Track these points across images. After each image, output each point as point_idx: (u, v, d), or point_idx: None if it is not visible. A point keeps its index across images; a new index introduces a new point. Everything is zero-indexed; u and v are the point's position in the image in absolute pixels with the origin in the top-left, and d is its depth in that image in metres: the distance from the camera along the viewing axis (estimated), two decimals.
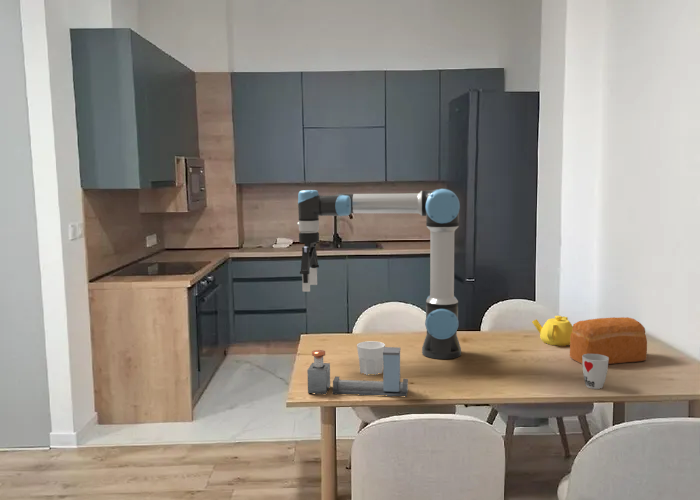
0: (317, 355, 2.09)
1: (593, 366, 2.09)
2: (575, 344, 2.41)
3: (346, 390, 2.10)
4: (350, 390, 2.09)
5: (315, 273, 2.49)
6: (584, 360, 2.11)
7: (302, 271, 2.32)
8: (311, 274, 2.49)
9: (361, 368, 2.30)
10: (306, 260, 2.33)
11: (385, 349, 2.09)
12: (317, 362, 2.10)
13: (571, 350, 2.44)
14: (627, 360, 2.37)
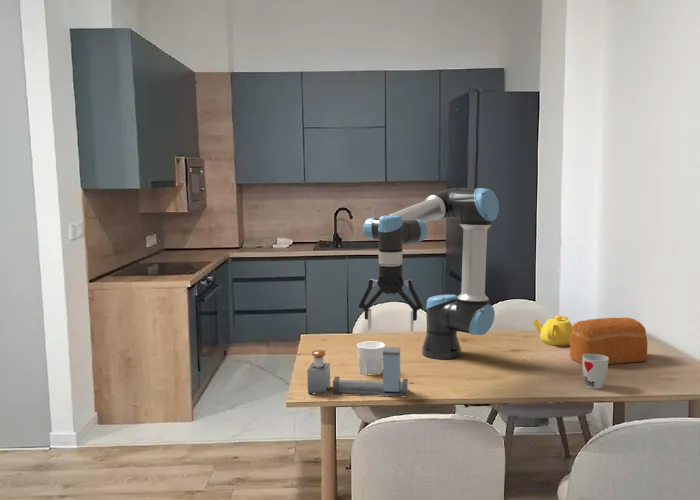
0: (317, 355, 2.09)
1: (593, 366, 2.09)
2: (575, 344, 2.41)
3: (346, 390, 2.10)
4: (350, 390, 2.09)
5: None
6: (584, 360, 2.11)
7: None
8: None
9: (361, 368, 2.30)
10: (364, 294, 2.07)
11: (385, 349, 2.09)
12: (317, 362, 2.10)
13: (571, 350, 2.44)
14: (627, 360, 2.37)
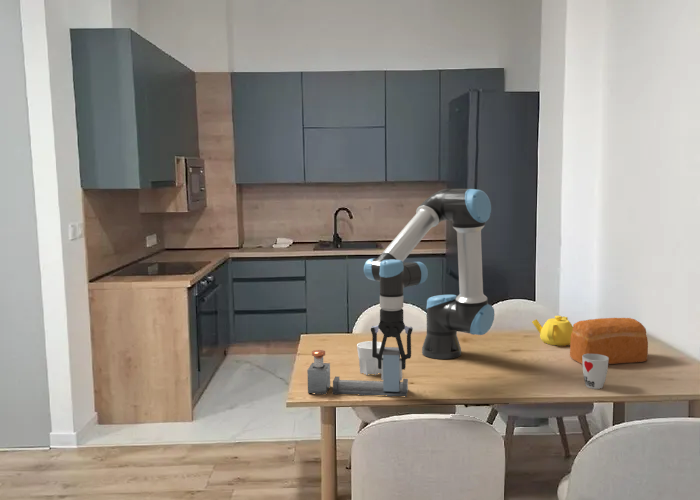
0: (317, 355, 2.09)
1: (593, 366, 2.09)
2: (575, 344, 2.41)
3: (346, 390, 2.10)
4: (350, 390, 2.09)
5: (399, 366, 2.07)
6: (584, 360, 2.11)
7: None
8: None
9: (361, 368, 2.30)
10: None
11: (385, 349, 2.09)
12: (317, 362, 2.10)
13: (571, 350, 2.44)
14: (627, 361, 2.37)
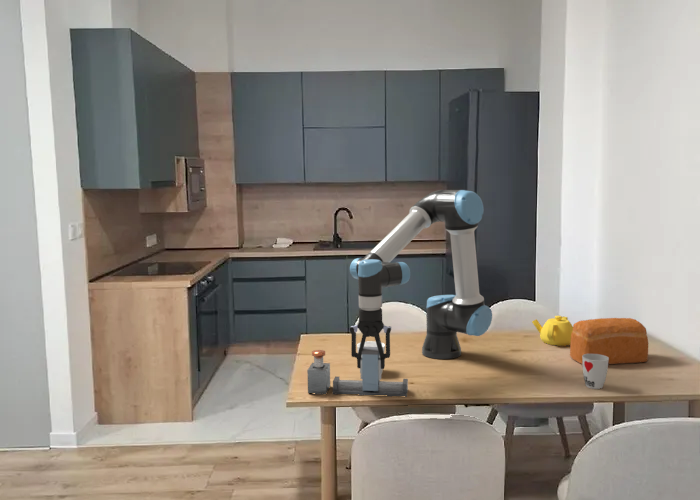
0: (317, 355, 2.09)
1: (593, 366, 2.09)
2: (574, 344, 2.41)
3: (346, 390, 2.10)
4: (350, 390, 2.09)
5: (378, 365, 2.08)
6: (584, 360, 2.11)
7: None
8: None
9: None
10: None
11: (364, 348, 2.10)
12: (317, 362, 2.10)
13: (571, 350, 2.44)
14: (627, 361, 2.37)
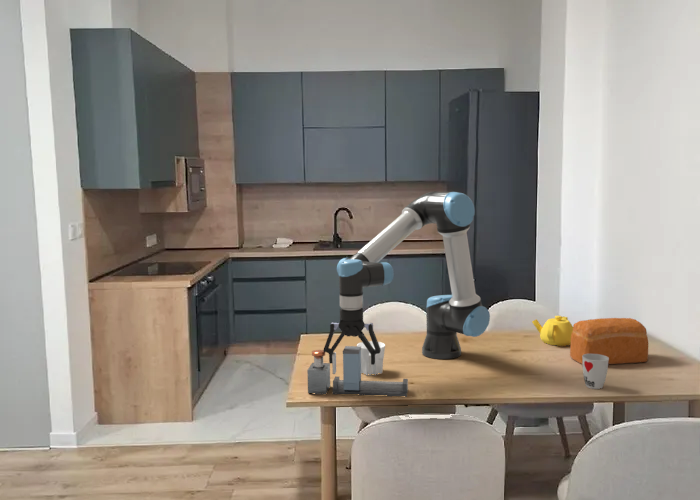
0: (317, 355, 2.09)
1: (593, 366, 2.09)
2: (575, 344, 2.41)
3: (346, 390, 2.10)
4: (350, 390, 2.09)
5: None
6: (584, 360, 2.11)
7: None
8: None
9: (361, 368, 2.30)
10: (327, 338, 2.10)
11: (345, 348, 2.10)
12: (317, 362, 2.10)
13: (571, 350, 2.44)
14: (627, 361, 2.37)
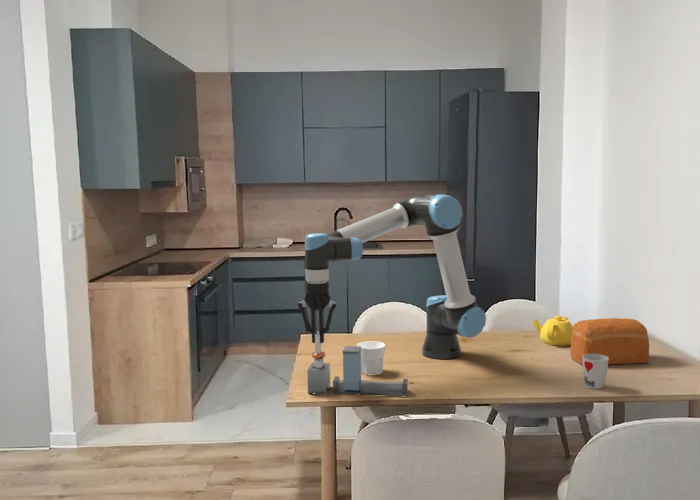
0: (317, 356, 2.09)
1: (593, 366, 2.09)
2: (574, 343, 2.42)
3: (346, 390, 2.10)
4: (350, 390, 2.09)
5: None
6: (584, 360, 2.11)
7: None
8: None
9: (361, 368, 2.30)
10: None
11: (345, 348, 2.10)
12: (317, 364, 2.11)
13: (571, 349, 2.45)
14: (627, 361, 2.36)
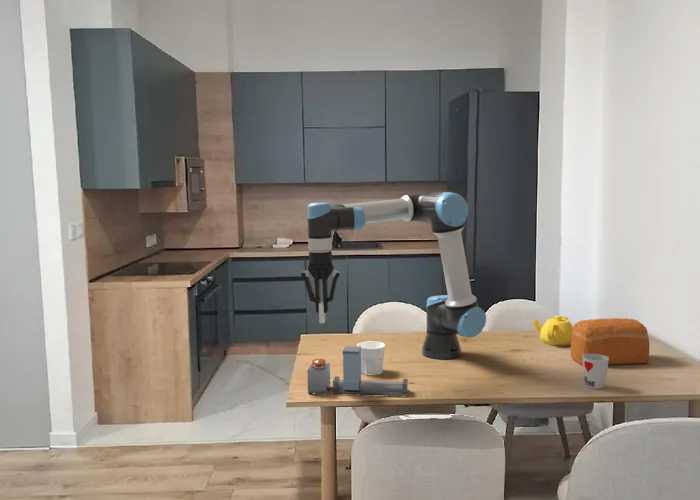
0: (317, 364, 2.10)
1: (593, 366, 2.09)
2: (574, 343, 2.42)
3: (346, 390, 2.10)
4: (350, 390, 2.09)
5: None
6: (584, 360, 2.11)
7: None
8: None
9: (361, 368, 2.30)
10: None
11: (345, 348, 2.10)
12: None
13: (571, 349, 2.44)
14: (627, 361, 2.36)
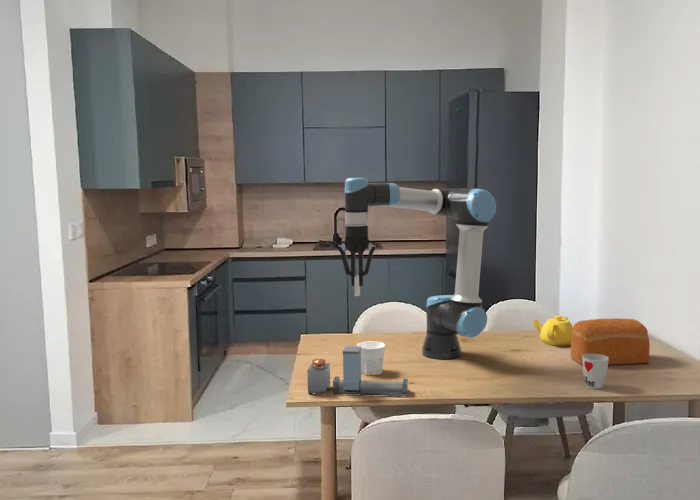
0: (317, 364, 2.10)
1: (593, 366, 2.09)
2: (574, 343, 2.42)
3: (346, 390, 2.10)
4: (350, 390, 2.09)
5: None
6: (584, 360, 2.11)
7: None
8: None
9: (361, 368, 2.30)
10: None
11: (345, 348, 2.10)
12: None
13: (571, 349, 2.44)
14: (627, 362, 2.36)
